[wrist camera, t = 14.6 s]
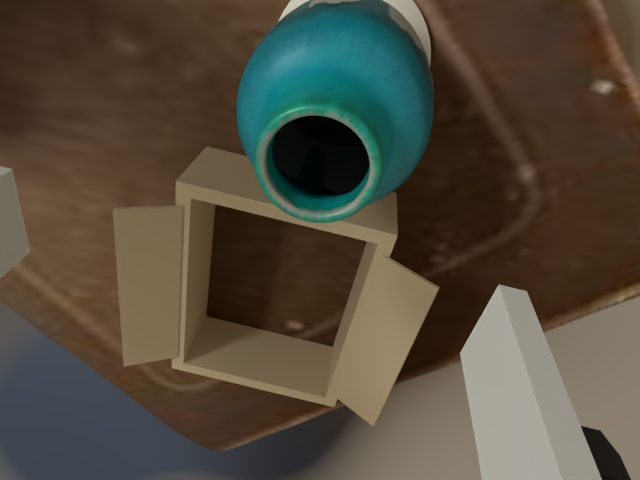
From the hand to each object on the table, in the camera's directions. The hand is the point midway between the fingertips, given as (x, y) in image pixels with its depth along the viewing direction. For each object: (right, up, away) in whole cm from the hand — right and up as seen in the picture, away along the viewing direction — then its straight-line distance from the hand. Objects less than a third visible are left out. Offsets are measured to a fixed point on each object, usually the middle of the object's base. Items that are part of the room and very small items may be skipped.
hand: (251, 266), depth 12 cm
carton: (-2, -2, +34) cm, 34 cm away
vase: (+4, +14, +22) cm, 26 cm away
